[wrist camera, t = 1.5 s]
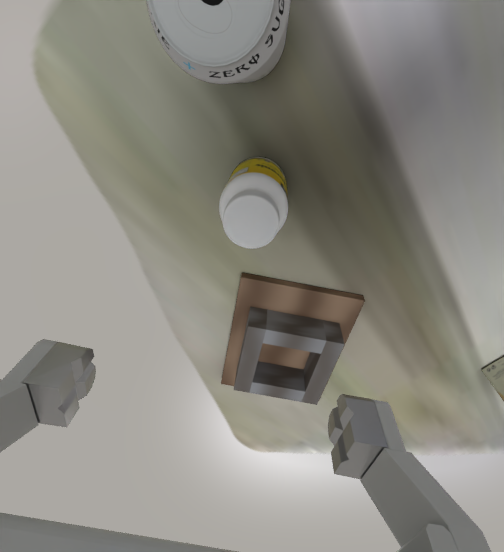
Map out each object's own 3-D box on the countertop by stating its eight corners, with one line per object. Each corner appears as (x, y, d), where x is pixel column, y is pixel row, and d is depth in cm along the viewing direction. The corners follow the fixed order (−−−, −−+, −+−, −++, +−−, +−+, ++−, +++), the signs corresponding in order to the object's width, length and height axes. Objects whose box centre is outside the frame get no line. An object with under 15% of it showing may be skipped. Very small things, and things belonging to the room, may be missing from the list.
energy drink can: (198, 62, 25) (115, 45, 13) (222, -33, 22) (145, -184, 10) (266, 95, 26) (254, 109, 13) (299, 7, 23) (324, -82, 10)
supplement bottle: (298, 190, 30) (305, 232, 22) (253, 222, 32) (244, 271, 24) (263, 142, 28) (257, 168, 20) (218, 179, 30) (195, 216, 22)
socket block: (363, 295, 36) (372, 321, 32) (317, 395, 45) (321, 424, 42) (241, 272, 35) (237, 295, 32) (222, 377, 45) (216, 405, 41)
